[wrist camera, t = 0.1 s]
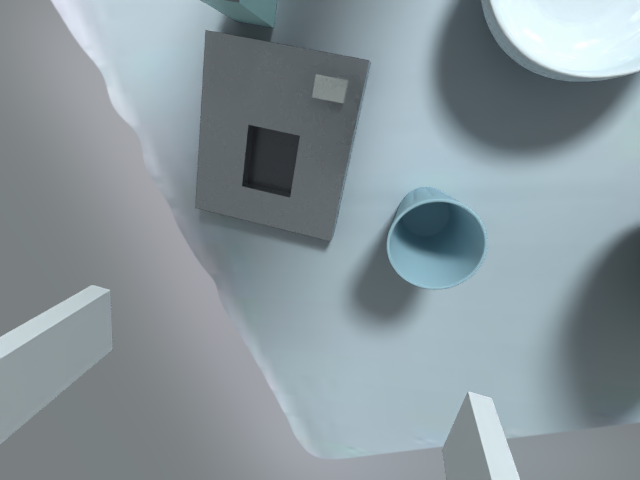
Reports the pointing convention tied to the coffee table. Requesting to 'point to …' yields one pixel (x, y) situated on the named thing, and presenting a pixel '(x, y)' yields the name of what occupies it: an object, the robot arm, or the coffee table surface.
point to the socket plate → (277, 132)
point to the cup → (435, 240)
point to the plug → (247, 10)
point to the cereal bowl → (568, 36)
